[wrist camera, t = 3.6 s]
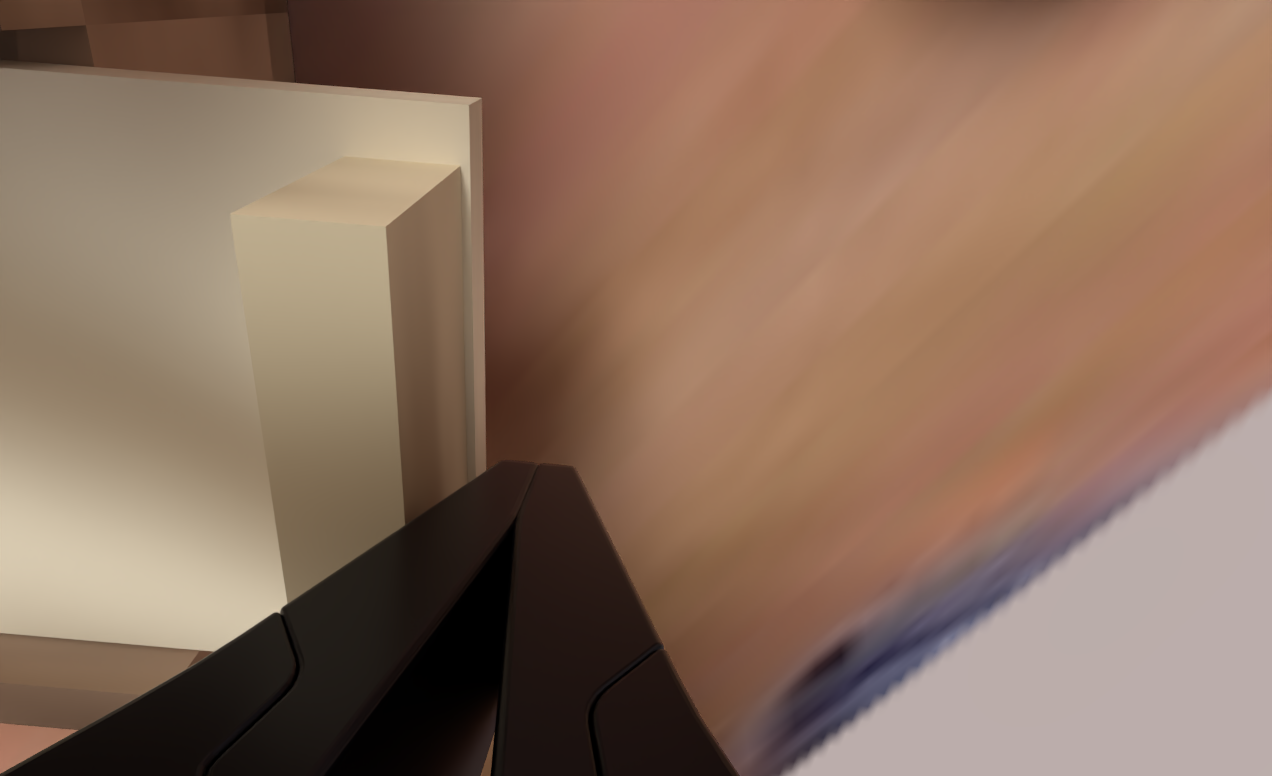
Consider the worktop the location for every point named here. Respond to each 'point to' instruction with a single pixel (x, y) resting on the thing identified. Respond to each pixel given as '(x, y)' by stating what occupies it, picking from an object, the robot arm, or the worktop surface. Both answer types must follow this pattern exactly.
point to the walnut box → (145, 41)
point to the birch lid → (225, 341)
